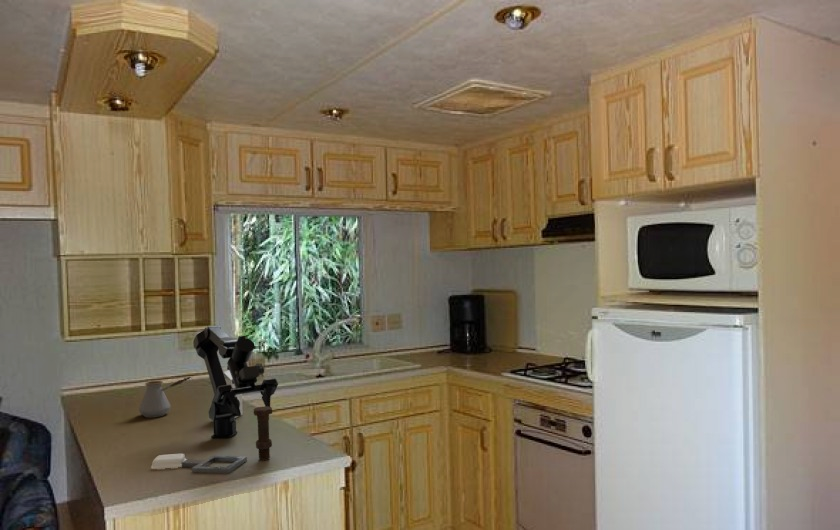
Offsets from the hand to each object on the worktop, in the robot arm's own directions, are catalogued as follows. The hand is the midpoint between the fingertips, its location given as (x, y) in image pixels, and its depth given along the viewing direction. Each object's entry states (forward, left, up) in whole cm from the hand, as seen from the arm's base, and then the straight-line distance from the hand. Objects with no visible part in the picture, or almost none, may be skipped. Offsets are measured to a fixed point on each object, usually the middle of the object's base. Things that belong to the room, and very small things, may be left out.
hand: (254, 413), depth 184 cm
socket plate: (-8, -12, -12) cm, 19 cm away
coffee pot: (-58, +43, -13) cm, 74 cm away
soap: (-21, -12, -13) cm, 28 cm away
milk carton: (-31, +42, -13) cm, 54 cm away
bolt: (+5, -4, -13) cm, 14 cm away
